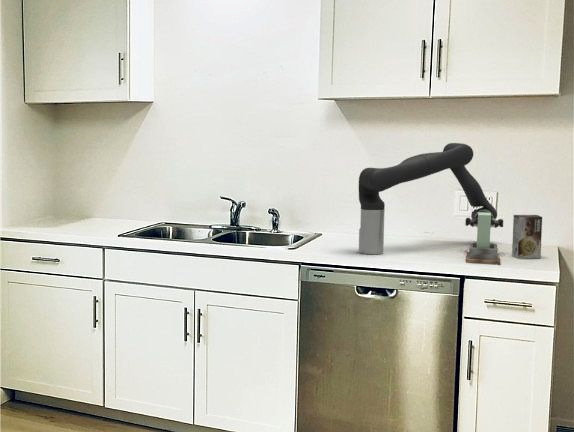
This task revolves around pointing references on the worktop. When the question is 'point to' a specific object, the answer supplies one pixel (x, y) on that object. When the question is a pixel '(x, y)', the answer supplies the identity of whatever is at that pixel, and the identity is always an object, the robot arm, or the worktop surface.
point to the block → (483, 230)
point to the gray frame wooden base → (483, 254)
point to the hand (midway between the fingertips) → (484, 224)
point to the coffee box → (527, 236)
